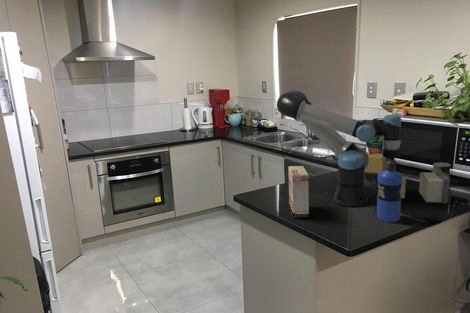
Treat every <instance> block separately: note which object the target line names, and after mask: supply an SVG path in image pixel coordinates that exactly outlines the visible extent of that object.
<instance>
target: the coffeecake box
mask: <svg viewBox="0 0 470 313" xmlns="http://www.w3.org/2000/svg"><path fill="white" fill-rule="evenodd" d="M309 203H310V202H309V174H308V172H307V171H306V169H305V167H304V165H293V166H291V165H290V166H288V204H290V207H291V210H292V212H293V213H295V214H309V215H310V213H309V212H310V205H309Z"/></svg>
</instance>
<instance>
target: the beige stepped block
mask: <svg viewBox="0 0 470 313" xmlns="http://www.w3.org/2000/svg"><path fill="white" fill-rule="evenodd" d="M419 173H420V174H419V190H418V192H419V194H420V195H421V196H422V198H423V200H424V201H425V202H426V203H441V204H449V198H450V185H451V183H450V182H451V179H450V178H448V177H447V176H446V175H445V174H444V173H443V172H441V171H440V170H434V173H433V172H419Z"/></svg>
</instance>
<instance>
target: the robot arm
mask: <svg viewBox="0 0 470 313" xmlns="http://www.w3.org/2000/svg"><path fill="white" fill-rule="evenodd" d="M276 108H277V111H278V112H279V114H281V115H283V116H284V117H286V118H287V117H288V118H290V119H293V120H294V121H295V122H301V123H302V124H303V125H304V126H305V127H306V128H307V129H308V130H309V131H310V132H311V133H312V134H313V135H315V137H317V139H319V141H321V142H322V144H324V145H325V146H326V147H327V148H328V149H329V150H330V151H331V152H333V154H334V156H335V160H336V161H337V186H336V190H335V193H334V195H333V201H334V200H335V201H336V202H337V203H340V204H343V205H347V206H359V207H363V206H362V205H364V206H365V204H366V205H367V204H368V195H367V192H366V189H365V168H366V167H367V165H368V152H366V150H365V149H363V148H362V147H359V146H358V145H356V144H355V143H354V141H347V139H345V137H343V136H342V135H341V134H340V133H342V134H345V135H348V136H351V137H353V138H356V139H358V140H359V141H360V142H363V143H367V142H368V143H369V142H370V141H372V140H373V139H374V138H375V137H376V136H377V137H382V153H381V154H382V155H383V157H386V161H388V160H393V161H394V162H395V163H396V164H395V165H396V166H397V161H396V160H395V159H397V158H399V157H400V155H401V149H400V147H401V144H402V141H401V135H402V134H401V133H402V116H400V115H394V114H390V115H388V114H387V115H385V116H384V117H383V119H355V118H352V117H350V116H349V117H348V116H346V115H343V114H340V113H336V112H334V111H330V110H327V109H325V108H321V107H318V106H315V105H313V104H312V103H311V101H310V100H308V97H307V95H306V94H305V93H304V92H302V91H299V90H291V91H289V92H285V93H284V92H283V93H282V94H281V95H280V96H279V97H278V98H277V101H276ZM385 165H386V164H385ZM347 206H346V207H347Z"/></svg>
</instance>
